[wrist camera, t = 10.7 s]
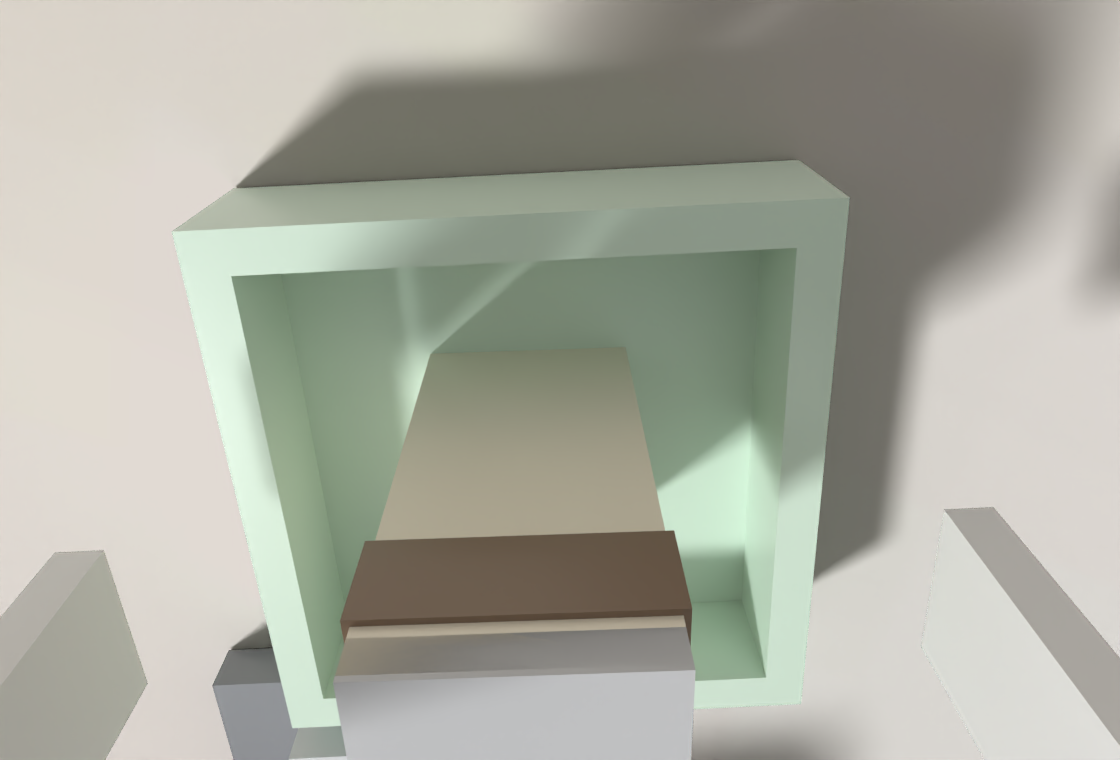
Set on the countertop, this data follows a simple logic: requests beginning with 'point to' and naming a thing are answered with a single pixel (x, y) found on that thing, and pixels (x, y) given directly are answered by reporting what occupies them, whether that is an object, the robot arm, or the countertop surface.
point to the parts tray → (530, 324)
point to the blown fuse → (520, 576)
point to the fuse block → (266, 713)
